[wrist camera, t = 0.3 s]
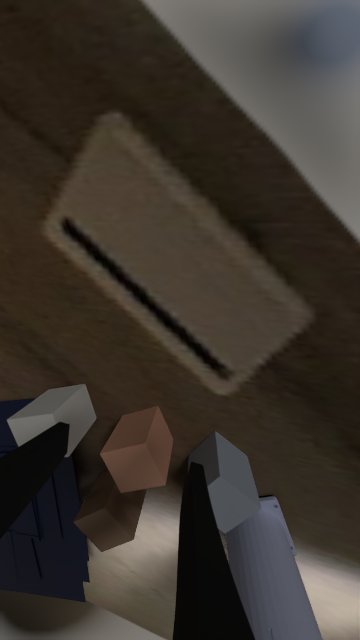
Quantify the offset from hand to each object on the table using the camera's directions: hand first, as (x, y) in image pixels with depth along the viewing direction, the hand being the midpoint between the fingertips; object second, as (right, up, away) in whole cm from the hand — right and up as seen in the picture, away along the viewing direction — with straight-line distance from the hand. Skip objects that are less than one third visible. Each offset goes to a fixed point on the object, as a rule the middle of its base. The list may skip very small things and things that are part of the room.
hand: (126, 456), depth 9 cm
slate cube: (+8, -9, +11) cm, 16 cm away
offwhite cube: (-11, -3, +12) cm, 17 cm away
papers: (-22, -18, +17) cm, 33 cm away
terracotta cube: (-1, -6, +12) cm, 13 cm away
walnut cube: (-5, -15, +14) cm, 21 cm away
